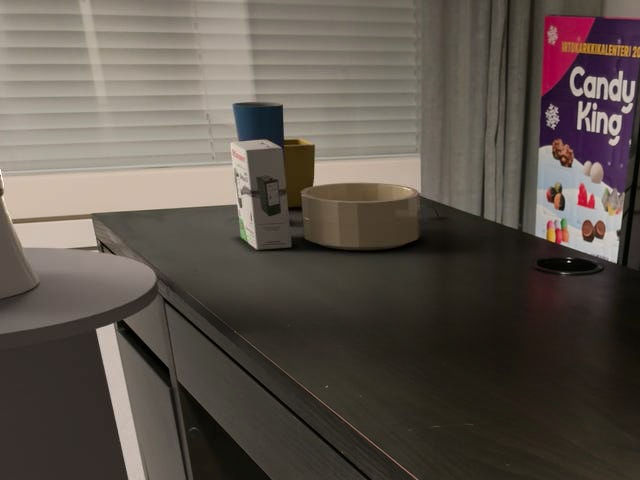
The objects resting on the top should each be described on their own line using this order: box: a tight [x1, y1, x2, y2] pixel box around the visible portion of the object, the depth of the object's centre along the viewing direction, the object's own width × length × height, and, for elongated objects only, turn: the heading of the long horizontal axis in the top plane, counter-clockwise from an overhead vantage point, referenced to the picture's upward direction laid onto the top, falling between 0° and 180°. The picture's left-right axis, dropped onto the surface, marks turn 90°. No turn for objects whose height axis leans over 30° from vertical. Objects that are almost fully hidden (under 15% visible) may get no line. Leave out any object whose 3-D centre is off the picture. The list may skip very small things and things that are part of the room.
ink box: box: [229, 140, 293, 251], centre depth 120 cm, size 9×5×12 cm, turn 27°
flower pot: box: [284, 138, 316, 208], centre depth 143 cm, size 9×9×9 cm
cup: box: [231, 101, 286, 181], centre depth 130 cm, size 7×7×15 cm
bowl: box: [300, 182, 421, 251], centre depth 124 cm, size 16×16×6 cm
